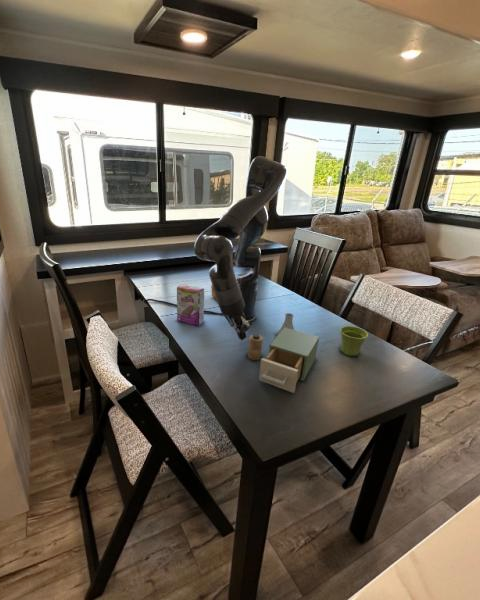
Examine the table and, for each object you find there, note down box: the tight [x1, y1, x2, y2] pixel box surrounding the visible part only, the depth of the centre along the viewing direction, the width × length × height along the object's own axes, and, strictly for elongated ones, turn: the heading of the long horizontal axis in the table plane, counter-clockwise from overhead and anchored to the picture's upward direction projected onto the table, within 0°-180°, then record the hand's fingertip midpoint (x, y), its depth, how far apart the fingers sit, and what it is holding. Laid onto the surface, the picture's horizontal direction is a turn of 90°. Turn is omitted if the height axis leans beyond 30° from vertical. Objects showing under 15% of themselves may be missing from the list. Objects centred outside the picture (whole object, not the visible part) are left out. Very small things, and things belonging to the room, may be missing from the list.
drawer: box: [258, 348, 305, 394], centre depth 99 cm, size 18×11×8 cm, turn 148°
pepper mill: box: [247, 333, 263, 361], centre depth 112 cm, size 5×5×9 cm
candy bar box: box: [176, 283, 205, 327], centre depth 135 cm, size 11×5×16 cm, turn 65°
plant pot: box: [339, 325, 369, 357], centre depth 116 cm, size 9×9×9 cm
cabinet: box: [268, 327, 320, 382], centre depth 108 cm, size 15×13×10 cm
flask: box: [276, 312, 295, 336], centre depth 126 cm, size 7×7×10 cm
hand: (242, 337), depth 101 cm, fingers closed
